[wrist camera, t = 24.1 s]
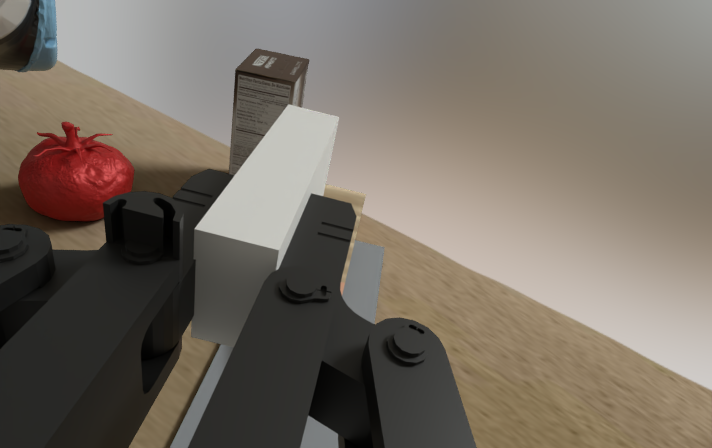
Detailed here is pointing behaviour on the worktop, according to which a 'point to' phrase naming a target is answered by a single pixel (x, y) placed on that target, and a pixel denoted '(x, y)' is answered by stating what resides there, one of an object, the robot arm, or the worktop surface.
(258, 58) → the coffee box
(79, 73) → the worktop surface
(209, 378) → the slate board
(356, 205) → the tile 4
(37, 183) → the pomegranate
